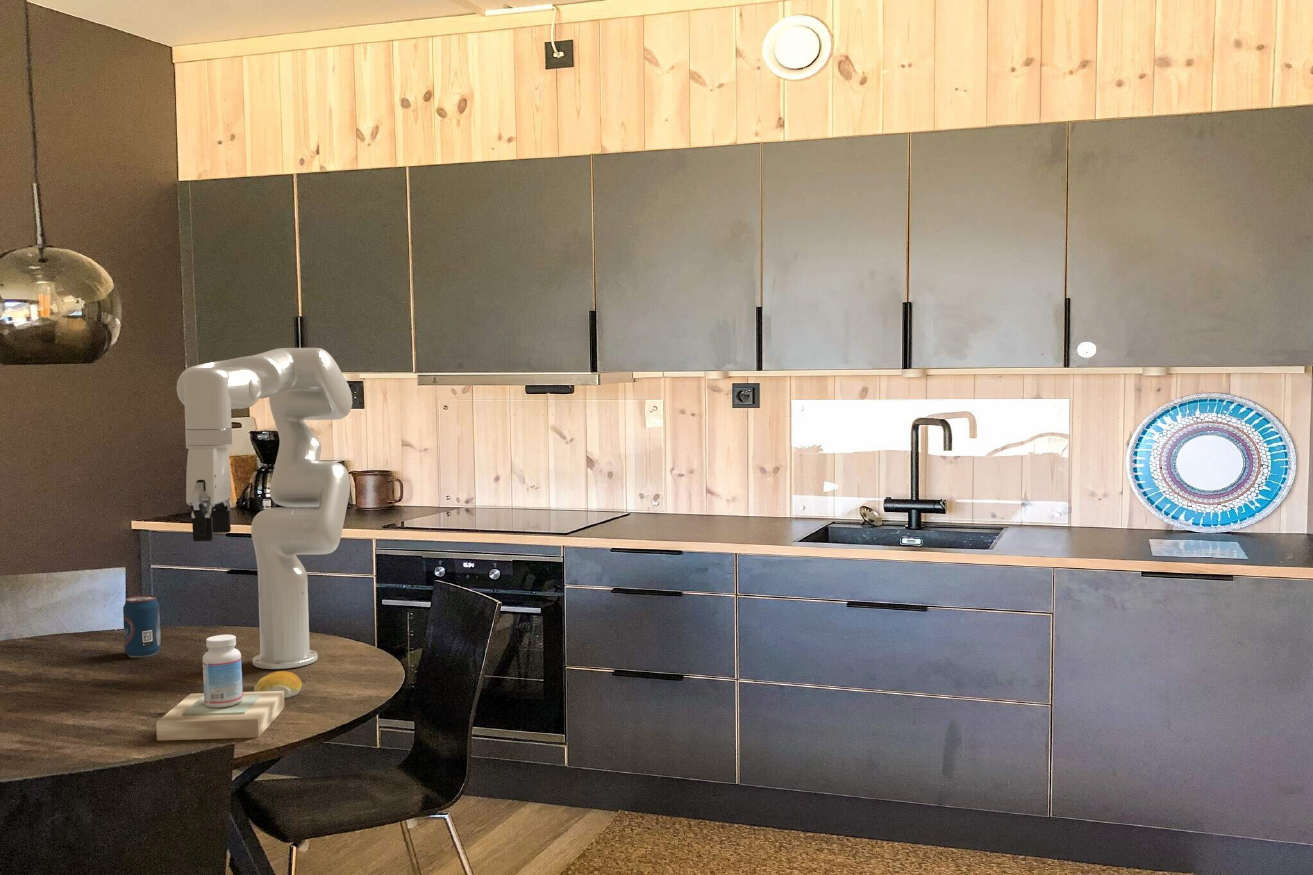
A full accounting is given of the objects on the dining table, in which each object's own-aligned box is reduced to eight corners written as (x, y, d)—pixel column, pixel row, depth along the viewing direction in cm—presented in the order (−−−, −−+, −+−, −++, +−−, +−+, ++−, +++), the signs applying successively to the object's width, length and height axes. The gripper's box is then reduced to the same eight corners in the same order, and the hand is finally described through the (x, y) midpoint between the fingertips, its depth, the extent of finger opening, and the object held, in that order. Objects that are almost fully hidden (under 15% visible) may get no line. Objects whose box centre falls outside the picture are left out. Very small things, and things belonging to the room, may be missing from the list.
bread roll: (303, 685, 212) (302, 664, 212) (299, 699, 203) (298, 677, 203) (256, 688, 210) (256, 667, 210) (251, 702, 201) (250, 680, 201)
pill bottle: (250, 700, 190) (248, 635, 190) (223, 710, 185) (220, 643, 184) (224, 696, 193) (221, 632, 192) (196, 706, 187) (193, 640, 187)
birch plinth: (191, 710, 196) (190, 691, 196) (284, 707, 197) (283, 689, 197) (156, 740, 180) (156, 720, 180) (258, 737, 181) (257, 717, 181)
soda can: (120, 654, 237) (118, 597, 236) (155, 648, 241) (152, 593, 240) (130, 660, 231) (128, 602, 231) (165, 654, 236) (163, 598, 235)
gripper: (203, 436, 204) (206, 530, 205) (168, 442, 187) (172, 544, 188) (245, 436, 204) (248, 529, 205) (215, 442, 187) (218, 543, 188)
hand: (212, 536), depth 197 cm, fingers open, 9 cm apart
